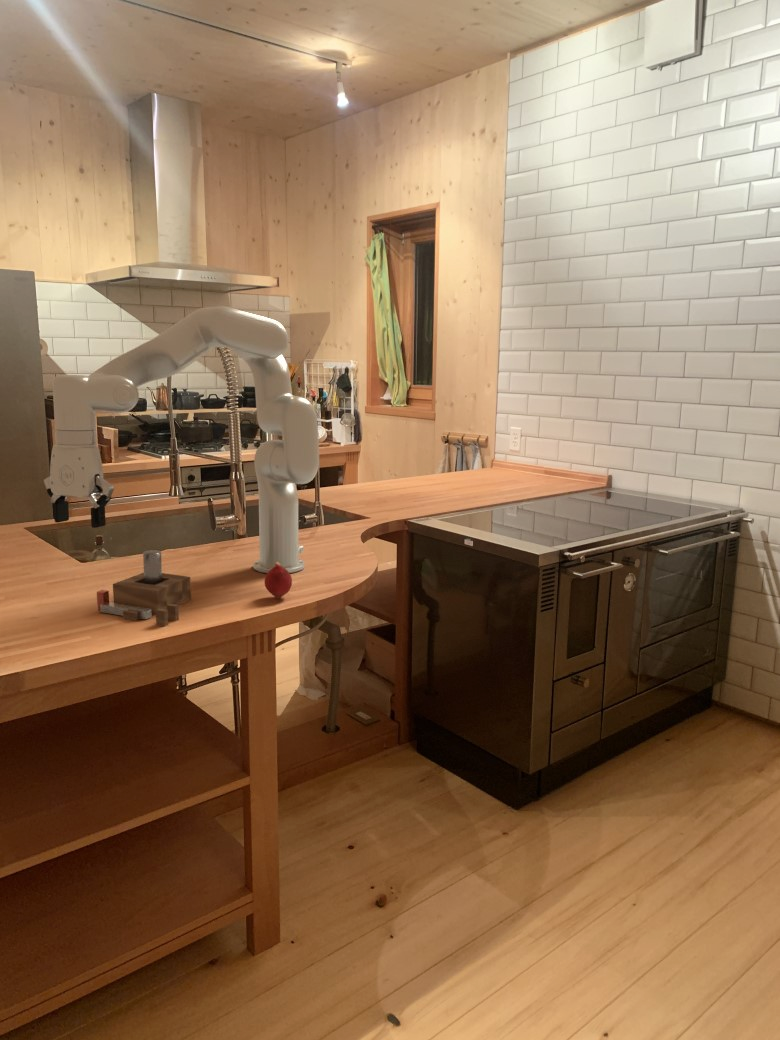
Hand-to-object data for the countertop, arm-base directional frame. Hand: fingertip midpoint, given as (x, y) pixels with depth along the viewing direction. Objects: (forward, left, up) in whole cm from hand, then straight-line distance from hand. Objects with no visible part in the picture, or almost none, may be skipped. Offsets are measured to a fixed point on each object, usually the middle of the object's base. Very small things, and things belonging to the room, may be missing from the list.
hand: (80, 524), depth 155 cm
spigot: (-8, +11, -17) cm, 21 cm away
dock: (-5, +14, -18) cm, 23 cm away
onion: (-22, +33, -18) cm, 43 cm away
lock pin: (+1, +11, -17) cm, 20 cm away
